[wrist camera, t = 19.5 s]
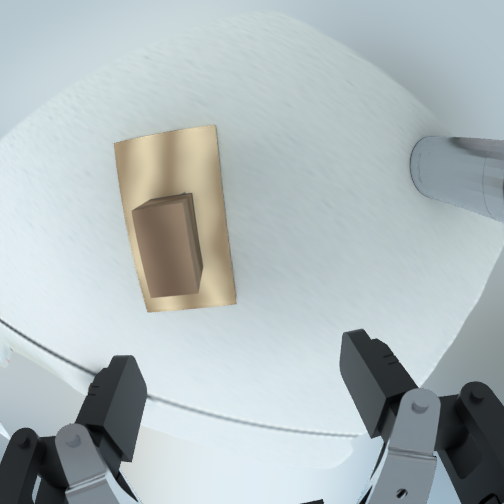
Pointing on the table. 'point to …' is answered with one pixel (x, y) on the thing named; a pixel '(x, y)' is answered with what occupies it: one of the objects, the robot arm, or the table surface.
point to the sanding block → (169, 245)
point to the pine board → (175, 183)
